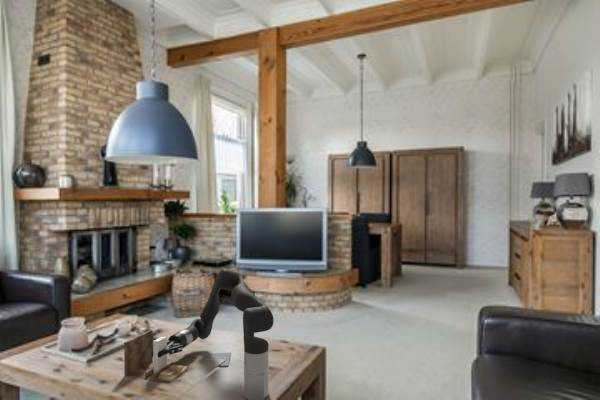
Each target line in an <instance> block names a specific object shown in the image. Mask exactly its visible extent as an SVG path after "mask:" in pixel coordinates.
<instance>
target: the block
mask: <svg viewBox="0 0 600 400" xmlns="http://www.w3.org/2000/svg"><path fill="white" fill-rule="evenodd" d="M167 341H168V338H167V336H160V337H158V339H156V340H154V341H153V374H154V373H156V372H157V371H159V370H161V369H162V368H164V367H165V366H167V364H168V361H167V360H168V358H167V357H168V354H167V355H163V356H161V357H158V352H159V351H161V350H163V349H165V348H166V347H167Z"/></svg>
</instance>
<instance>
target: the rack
mask: <svg viewBox="0 0 600 400" xmlns="http://www.w3.org/2000/svg"><path fill="white" fill-rule="evenodd" d="M153 333H154V331H153V329H150V330H148V331H145V332H143V333H140V334H139V335H137V336H135V337H133V338H130V339H129V340H127V341H124V342H123V349H124V350H123V353H124V355H123V356H124V357H123V358H124V363H123V366H124V367H123V368H124V373H123V374H124V377H128V378H134V379H138V380H142V381H143V380H144V381H149V382H150V381H151V382H154V383H155V382H156V383H161V384H164V385H165V384H166V385H173V384H175V382H177V381H178V380H180V379H182V377H184V376H185V375H186V374H189V373H190V372H191V371H192V370H193V369H195V368H194V367H190V366H188V365H187V366H186V365H181V364H175V361H174V362H173V361H172V362H170V363H167V366H165V367H164V368H162V369H161V370H159V371H157V372H156V373H154V374H153V356H152V351H153Z"/></svg>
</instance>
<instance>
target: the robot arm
mask: <svg viewBox="0 0 600 400" xmlns="http://www.w3.org/2000/svg"><path fill="white" fill-rule="evenodd" d="M221 290H225V291H230V292H231V293H230V299H231V302H232V304H233V305H234V307H235V308H236V309H237V310H238V311H240V312H243V314H242V330H243V332H242V333H243V346H244V347H243V349H244V350H243V355H244V356H243V362H244V363H243V365H244V366H243V371H244V372H243V374H244V375H243V377H244V378H243V384H244V385H243V390H244V391H243V392H244V393H243V394H244V398H246V399H247V400H266V398H267V397H268V396H269V387H270V385H269V380H270V379H269V377H270V376H269V375H270V373H269V367H270V365H269V364H270V363H269V360H270V359H269V355H270V354H269V352H270V351H269V347H270V346H269V342H268V340H266V339H265V338H262V337H257V336H255V334H257V333H263V332H267V331H269V330H271V329H272V328H273V326H274V324H275V323H274V321H275V320H274V315H273V312H272V310H271V309H270V308H269V306H268V305H266V304H265V303H264V302H262V300H261V299H259V298H258V297H257V296H256V294H255V293H254V292H253V290H252V288H250V287H249V286H248V285H247V284H246V282H245V281H244V278H243V276H242V275H241V273H239V271H238V272H237V271H235V270H234V271H233V270H229V269H226V268H223V269H220V271H219V272H218V274H217V275H216V278H215V281H214V283H213V285H212V288H211V291H210V294H209V296H208V299H207V301H206V303H205V306H204V307H203V309H202V311H201V313H200V316H199V317H200V318H195V319H194V320H193V321H192V322H191V324H190V325H189V326H187V328H184V329H181V330H180V331H178V332H176V333H174V334H172V335H170V336H169V337H168V338H167V347H166V348H165V349H163V350H161V351H159V352H158V357H161V356H163V355H167V356H168V355H170V356H171V355H174V354H177V353H181V352H183V349H185V348H186V347H188V346H190V344H192V343H193V342H195V341H196V340H198V338H199V339H200V340H205V339H207V338H209V337H210V335H211V332H212V330H213V324H214V320H215V318H217V317H216V316H217V315H218V313H219V311H220V309H221V308H220V307H221V304H220V297H219V295H220V294H219V293H220V291H221ZM152 356H153V351H152Z"/></svg>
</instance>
